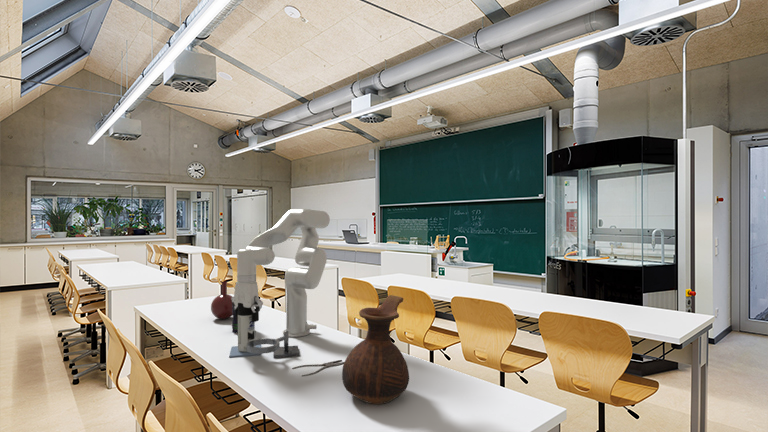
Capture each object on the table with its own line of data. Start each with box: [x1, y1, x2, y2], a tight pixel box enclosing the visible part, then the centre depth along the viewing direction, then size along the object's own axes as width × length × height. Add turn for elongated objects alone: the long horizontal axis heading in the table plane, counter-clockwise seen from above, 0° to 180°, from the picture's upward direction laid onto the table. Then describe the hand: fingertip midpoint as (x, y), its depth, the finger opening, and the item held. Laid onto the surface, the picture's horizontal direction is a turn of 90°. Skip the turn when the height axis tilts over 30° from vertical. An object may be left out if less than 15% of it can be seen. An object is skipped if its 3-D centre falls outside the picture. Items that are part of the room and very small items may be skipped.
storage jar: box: [231, 304, 238, 335], centre depth 202 cm, size 10×10×15 cm
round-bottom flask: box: [210, 280, 233, 320], centre depth 224 cm, size 13×13×20 cm
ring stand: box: [247, 330, 300, 359], centre depth 164 cm, size 20×20×9 cm
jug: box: [341, 294, 410, 405], centre depth 132 cm, size 22×22×30 cm
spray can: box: [237, 303, 256, 352], centre depth 172 cm, size 7×7×20 cm
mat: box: [228, 345, 262, 358], centre depth 172 cm, size 12×12×1 cm
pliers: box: [292, 359, 345, 377], centre depth 156 cm, size 10×1×20 cm
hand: (246, 319), depth 172 cm, fingers open, 9 cm apart
